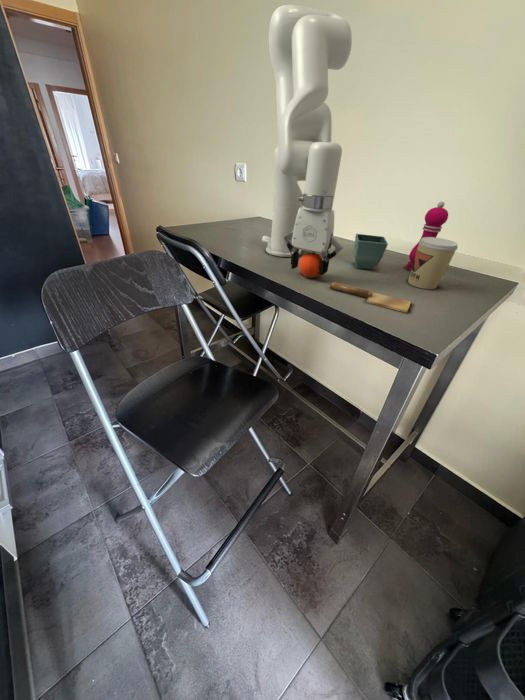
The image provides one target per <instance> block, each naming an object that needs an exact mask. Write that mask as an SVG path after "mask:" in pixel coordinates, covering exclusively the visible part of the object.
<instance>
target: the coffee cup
mask: <svg viewBox="0 0 525 700" xmlns="http://www.w3.org/2000/svg"><path fill="white" fill-rule="evenodd" d="M420 239H421V238H420ZM420 239H419V240H420ZM418 242H419V245H418V248H417V252H416V255H415V258H414V262H413V265H412V269H411V271H409V277H408V281H407V282H408V284H409V285H411V286H413V287H415V288H419V289H423V290H435V289H437V287H438V286H439V284H440V282H441V280H442V279H443V276H444V275H445V273H446V271H447V268H448V267H449V265H450V263H451V261H452V259H453V257H454V255H455V253H456V251H457V250H458V245H459V244H458V243H457V242H455V241H453V240H451V239H446V238H442V237H436V238H435V237H424V238H422V239H421V240H420V241H418Z"/></svg>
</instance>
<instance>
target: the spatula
mask: <svg viewBox="0 0 525 700" xmlns="http://www.w3.org/2000/svg"><path fill="white" fill-rule="evenodd" d="M329 287H330V288H331V289H332V290H335V291H339V292H342V293H346V294H350V295H355V296H358V297H361V298H366V303H367V304H371V305H374V306H379V307H383V308H387V309H389V310H394V311H398V312H401V313H405V314H408V311H409V309H410V306H411V303H412V301H409V300H406V299H402V298H397V297H393V296H390V295H385V294H382V293H377V292H372V291H371V290H368V289H364V288H360V287H355V286H351V285H348V284H343V283H340V282H335V281H333V282H331V283H330V286H329Z"/></svg>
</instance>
